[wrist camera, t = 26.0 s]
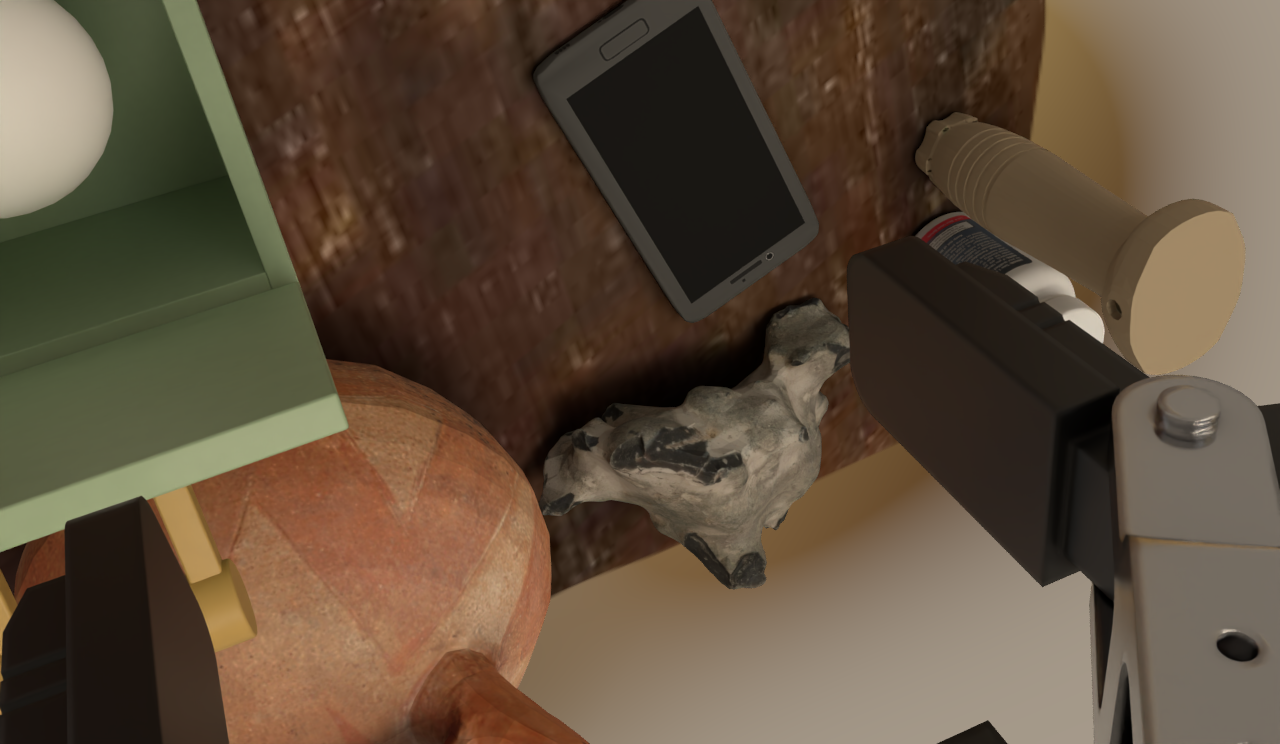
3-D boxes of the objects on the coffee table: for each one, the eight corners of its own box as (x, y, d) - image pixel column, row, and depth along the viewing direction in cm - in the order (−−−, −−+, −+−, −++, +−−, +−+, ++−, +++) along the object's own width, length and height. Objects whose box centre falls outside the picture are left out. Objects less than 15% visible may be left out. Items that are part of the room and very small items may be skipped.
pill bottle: (878, 301, 58) (991, 398, 51) (923, 200, 56) (1048, 286, 49) (961, 315, 60) (1080, 409, 53) (1008, 219, 58) (1137, 303, 51)
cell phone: (685, -44, 45) (694, -39, 45) (818, 227, 54) (826, 234, 53) (523, 70, 45) (530, 76, 44) (682, 323, 54) (689, 332, 53)
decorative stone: (821, 245, 53) (947, 405, 47) (832, 371, 61) (943, 523, 54) (486, 399, 52) (571, 585, 45) (539, 510, 59) (619, 684, 53)
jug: (427, 219, 47) (615, 533, 31) (529, 555, 57) (707, 915, 42) (-75, 387, 43) (-150, 845, 27) (133, 715, 53) (167, 1181, 38)
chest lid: (-319, 618, 21) (-181, 853, 23) (336, 392, 24) (418, 616, 25) (-117, 414, 33) (-37, 574, 35) (298, 280, 36) (354, 435, 38)
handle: (987, 60, 53) (1253, 192, 41) (990, 189, 57) (1234, 344, 45) (891, 96, 52) (1135, 241, 40) (900, 225, 56) (1126, 393, 44)
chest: (-305, -108, 34) (-399, -33, 27) (122, -203, 36) (138, -157, 29) (-81, 280, 41) (-109, 418, 34) (261, 177, 43) (300, 286, 37)
